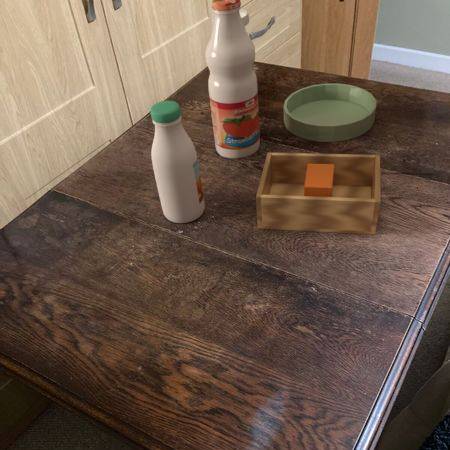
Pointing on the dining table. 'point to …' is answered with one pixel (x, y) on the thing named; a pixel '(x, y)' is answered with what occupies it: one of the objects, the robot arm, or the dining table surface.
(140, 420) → the dining table surface
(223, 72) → the fruit juice
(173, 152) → the milk bottle
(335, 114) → the bowl
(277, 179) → the holder
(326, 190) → the box
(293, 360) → the dining table surface
